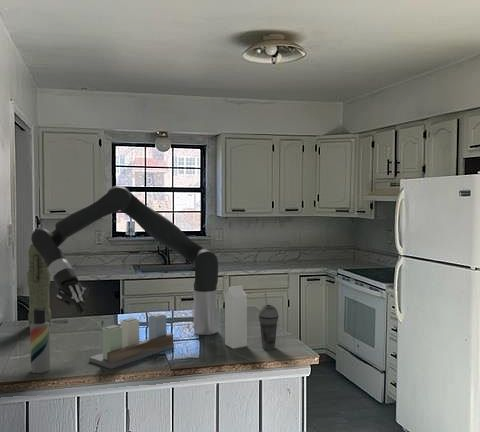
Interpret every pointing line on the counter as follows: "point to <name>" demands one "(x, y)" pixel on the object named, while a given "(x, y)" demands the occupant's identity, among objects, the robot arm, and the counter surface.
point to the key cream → (130, 331)
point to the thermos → (38, 284)
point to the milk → (236, 317)
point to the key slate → (157, 326)
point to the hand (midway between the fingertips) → (83, 312)
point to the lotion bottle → (40, 342)
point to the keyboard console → (134, 352)
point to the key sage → (111, 339)
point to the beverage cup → (268, 325)
